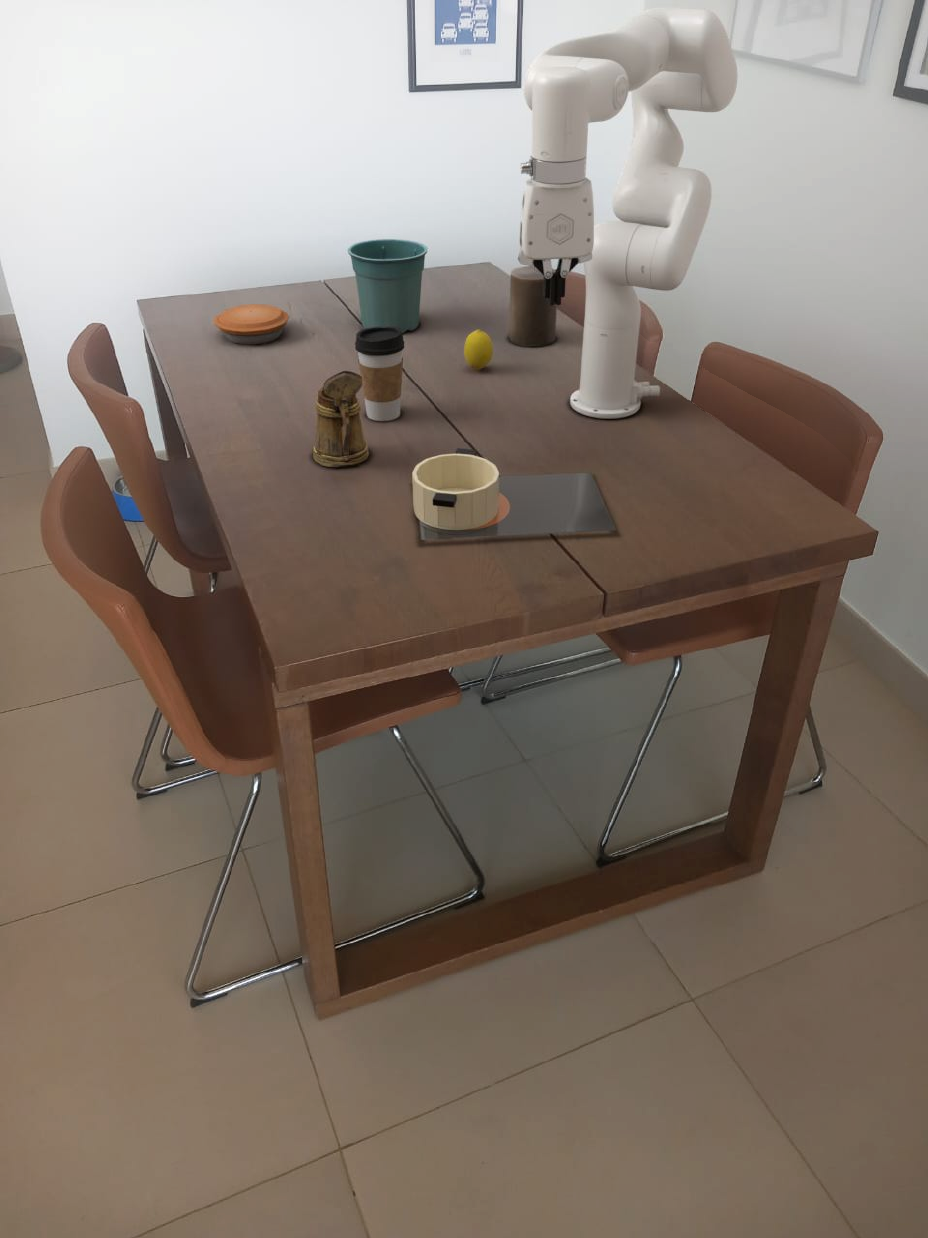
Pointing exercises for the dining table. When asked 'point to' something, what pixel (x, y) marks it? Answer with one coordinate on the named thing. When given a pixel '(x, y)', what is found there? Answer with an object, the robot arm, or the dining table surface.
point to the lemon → (478, 349)
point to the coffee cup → (381, 370)
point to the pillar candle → (530, 309)
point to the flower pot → (389, 281)
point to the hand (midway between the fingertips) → (553, 301)
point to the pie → (252, 323)
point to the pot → (456, 490)
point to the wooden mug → (340, 422)
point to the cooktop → (539, 508)
